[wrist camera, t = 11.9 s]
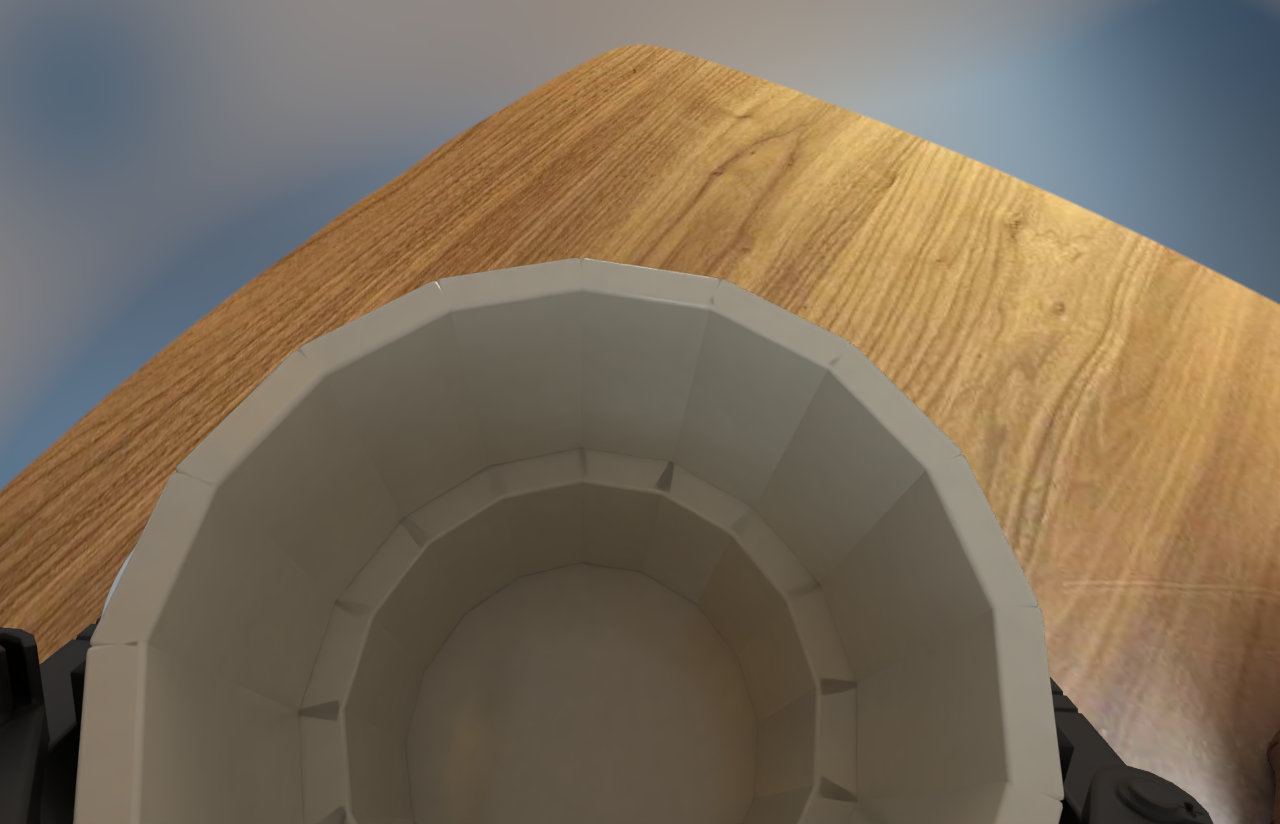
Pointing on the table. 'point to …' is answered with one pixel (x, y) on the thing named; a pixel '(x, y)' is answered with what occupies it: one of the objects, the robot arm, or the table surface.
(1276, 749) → the decorative turtle
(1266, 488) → the table surface
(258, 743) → the faceted beige cup
